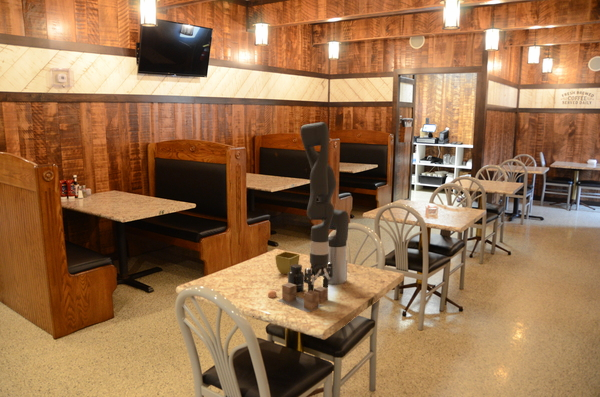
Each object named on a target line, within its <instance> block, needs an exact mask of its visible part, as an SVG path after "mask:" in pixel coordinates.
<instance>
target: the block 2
mask: <svg viewBox="0 0 600 397" xmlns="http://www.w3.org/2000/svg"><path fill="white" fill-rule="evenodd" d="M303 299H304V308H307V309H310V310H313V309H315V310H317V309H316V308H318V306H319V304H320V302H319V293H318V292H315V291H312V290H310V291H308V290H307V291H304V292H303ZM318 309H319V308H318ZM313 311H314V310H313Z"/></svg>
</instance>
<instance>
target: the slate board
mask: <svg viewBox="0 0 600 397" xmlns="http://www.w3.org/2000/svg"><path fill="white" fill-rule="evenodd" d="M277 302H279V303H282V304H285V305H287V306H290V307H292V308H295V309H298V310H301V311H303V312H306V313H310V312H313V311H315V310H317V309H320V308H322V307H324V305H323V304H320V303H319V306H318V308H316V309H313V310H310V309H307V308H304V297H301V296H298V295H296V299H295V300H293V301H290V302H288V301H286V300H283V299H282V298H281V299H278V300H277Z"/></svg>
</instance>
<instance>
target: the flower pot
mask: <svg viewBox="0 0 600 397" xmlns="http://www.w3.org/2000/svg"><path fill="white" fill-rule="evenodd" d="M300 256H301V255H300V253H295V252H290V251H283V252H281V253H279V254H278V253H277V254H276V255H275V257H274V258H275V265H276V268H277V270H278V272H279V273H280V274H284V275H287V276H288V273H289V272H290V271H291V270H290V268H291V265H293V264H299V263H300Z"/></svg>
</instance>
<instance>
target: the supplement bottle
mask: <svg viewBox="0 0 600 397" xmlns="http://www.w3.org/2000/svg"><path fill="white" fill-rule="evenodd" d="M302 268H303V265H301V264H299V263H298V264H293V265H291V268H290V270H291V271H290V272H289V273H288V275H287V283H292V284H295V285H296V294H298V293H300V294H301V293H302V292H303V293H304V292H305V291H304V290H305V289H304V288H305V287H304V286H305V283H304V274H305V272H303V269H302Z"/></svg>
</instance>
